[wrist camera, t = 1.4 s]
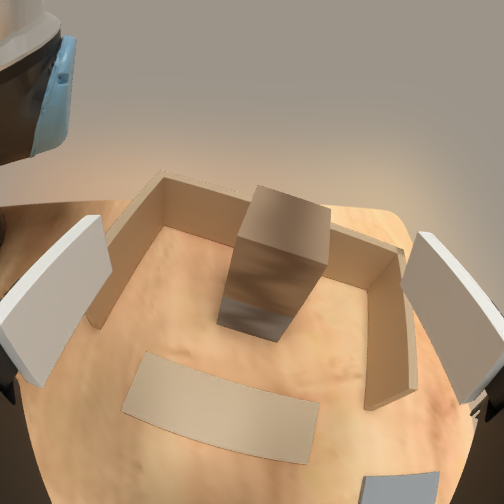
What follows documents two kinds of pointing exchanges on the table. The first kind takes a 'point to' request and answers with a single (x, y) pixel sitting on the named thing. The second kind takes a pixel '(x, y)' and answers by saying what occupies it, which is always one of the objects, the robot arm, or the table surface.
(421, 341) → the table surface
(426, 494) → the mat
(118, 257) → the cardboard walls
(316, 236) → the reflective metal box
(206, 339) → the table surface
